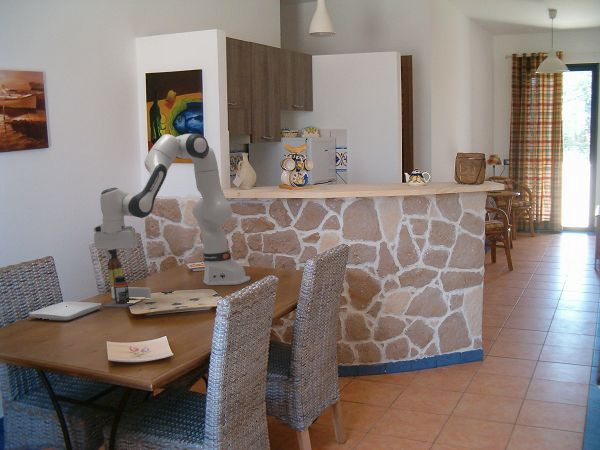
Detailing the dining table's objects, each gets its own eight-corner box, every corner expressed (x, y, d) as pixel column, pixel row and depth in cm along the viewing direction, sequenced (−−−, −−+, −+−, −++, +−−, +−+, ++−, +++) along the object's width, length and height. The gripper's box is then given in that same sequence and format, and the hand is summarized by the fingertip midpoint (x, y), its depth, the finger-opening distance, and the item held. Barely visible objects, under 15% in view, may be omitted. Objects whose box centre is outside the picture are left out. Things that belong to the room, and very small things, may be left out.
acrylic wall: (151, 298, 318) (149, 287, 317) (149, 299, 316) (148, 288, 316) (113, 297, 326) (112, 286, 325) (112, 298, 325) (110, 287, 324)
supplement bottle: (116, 301, 315) (113, 275, 313) (130, 300, 315) (127, 274, 314) (114, 304, 309) (111, 278, 307) (128, 303, 309) (125, 277, 308)
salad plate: (104, 310, 304) (103, 302, 304) (68, 324, 285) (67, 315, 285) (65, 308, 313) (64, 300, 313) (28, 321, 294) (27, 313, 294)
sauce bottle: (126, 288, 345) (122, 247, 342) (122, 291, 339) (117, 249, 336) (113, 289, 346) (108, 247, 343) (108, 291, 340) (103, 250, 337)
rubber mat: (142, 300, 315) (142, 299, 315) (125, 307, 304) (125, 306, 304) (119, 300, 320) (119, 298, 320) (102, 306, 309) (102, 305, 309)
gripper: (138, 224, 306) (142, 256, 308) (99, 225, 315) (103, 257, 317) (129, 227, 301) (133, 260, 303) (90, 228, 309) (94, 260, 311)
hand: (118, 258), depth 310 cm, fingers open, 8 cm apart
